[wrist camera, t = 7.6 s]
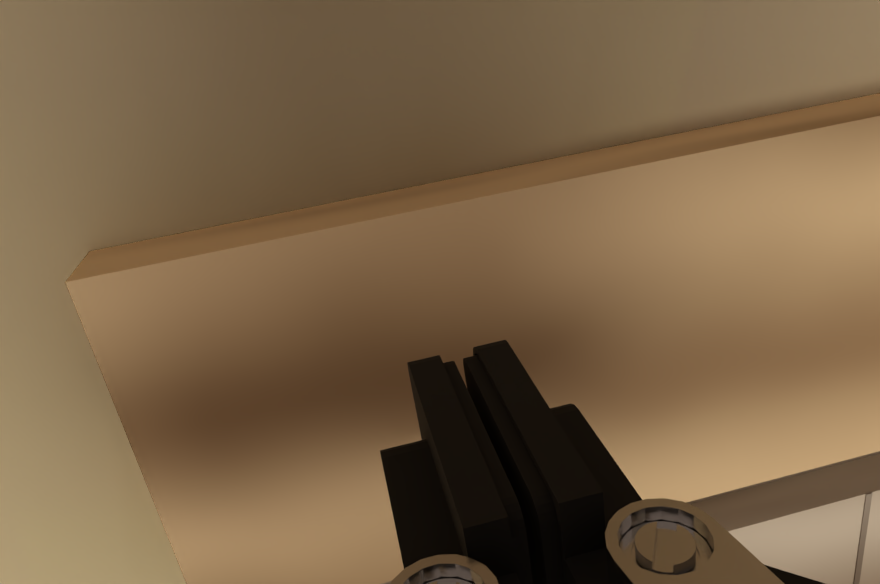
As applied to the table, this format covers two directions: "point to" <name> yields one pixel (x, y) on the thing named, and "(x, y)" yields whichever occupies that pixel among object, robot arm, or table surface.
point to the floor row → (809, 521)
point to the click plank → (501, 332)
